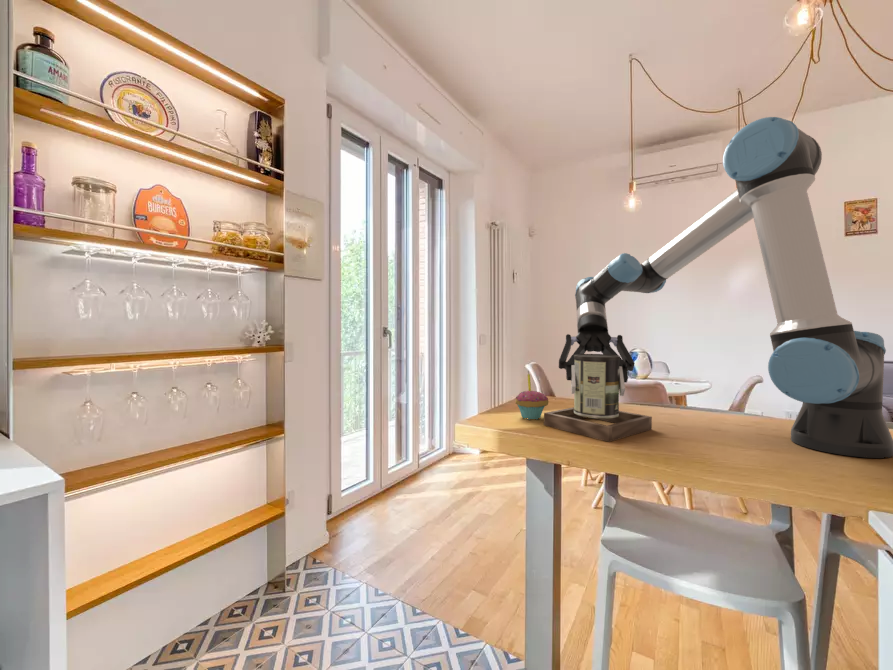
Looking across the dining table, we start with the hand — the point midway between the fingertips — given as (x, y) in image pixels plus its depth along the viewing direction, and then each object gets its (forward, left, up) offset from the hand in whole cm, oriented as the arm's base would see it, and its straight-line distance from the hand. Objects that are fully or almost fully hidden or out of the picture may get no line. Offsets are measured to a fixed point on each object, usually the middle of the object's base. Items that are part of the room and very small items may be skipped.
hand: (597, 391), depth 96 cm
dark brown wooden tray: (+2, -2, -9) cm, 9 cm away
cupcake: (+18, +3, -9) cm, 20 cm away
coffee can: (+2, -2, -6) cm, 7 cm away
